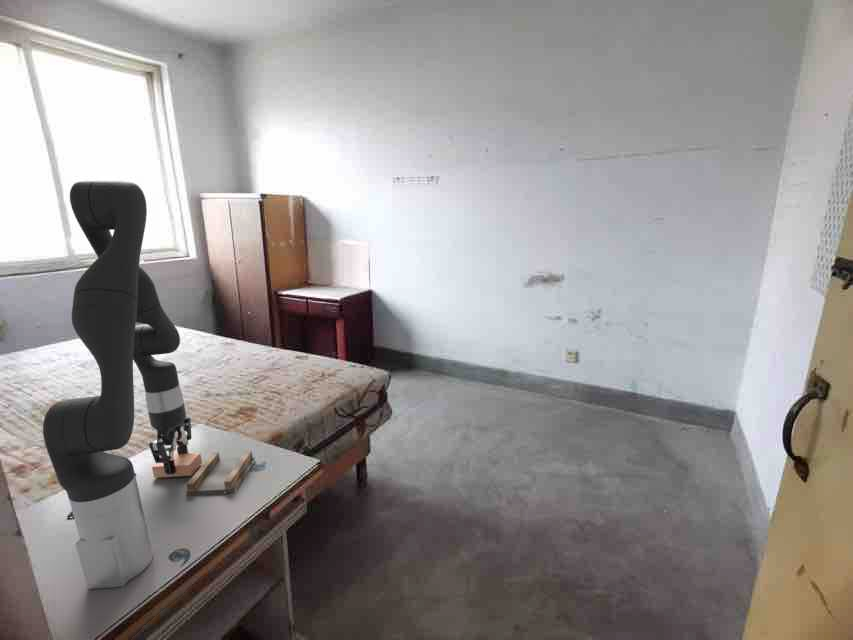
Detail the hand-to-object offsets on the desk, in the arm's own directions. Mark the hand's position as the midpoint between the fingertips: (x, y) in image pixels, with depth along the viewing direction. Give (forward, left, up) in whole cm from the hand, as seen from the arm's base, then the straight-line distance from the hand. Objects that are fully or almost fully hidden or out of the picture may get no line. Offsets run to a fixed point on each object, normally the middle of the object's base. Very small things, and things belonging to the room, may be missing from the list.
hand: (177, 466), depth 103 cm
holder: (-3, -12, -2) cm, 13 cm away
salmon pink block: (0, 0, -1) cm, 1 cm away
